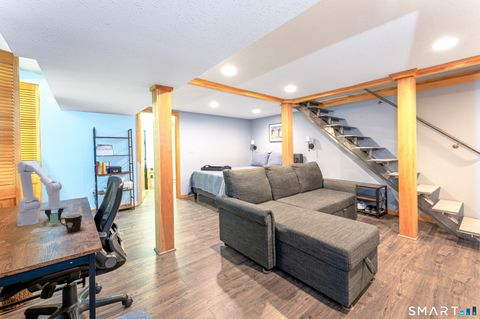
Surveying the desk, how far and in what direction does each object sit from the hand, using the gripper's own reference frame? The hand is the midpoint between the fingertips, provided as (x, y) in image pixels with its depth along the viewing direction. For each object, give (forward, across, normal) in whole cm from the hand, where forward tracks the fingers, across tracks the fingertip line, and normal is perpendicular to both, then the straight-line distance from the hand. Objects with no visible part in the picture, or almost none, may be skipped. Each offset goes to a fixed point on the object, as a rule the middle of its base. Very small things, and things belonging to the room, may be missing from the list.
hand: (54, 220), depth 139 cm
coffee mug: (+4, +12, -17) cm, 21 cm away
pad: (+4, -5, -6) cm, 9 cm away
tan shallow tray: (+4, 0, +4) cm, 5 cm away
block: (+1, 0, 0) cm, 1 cm away
